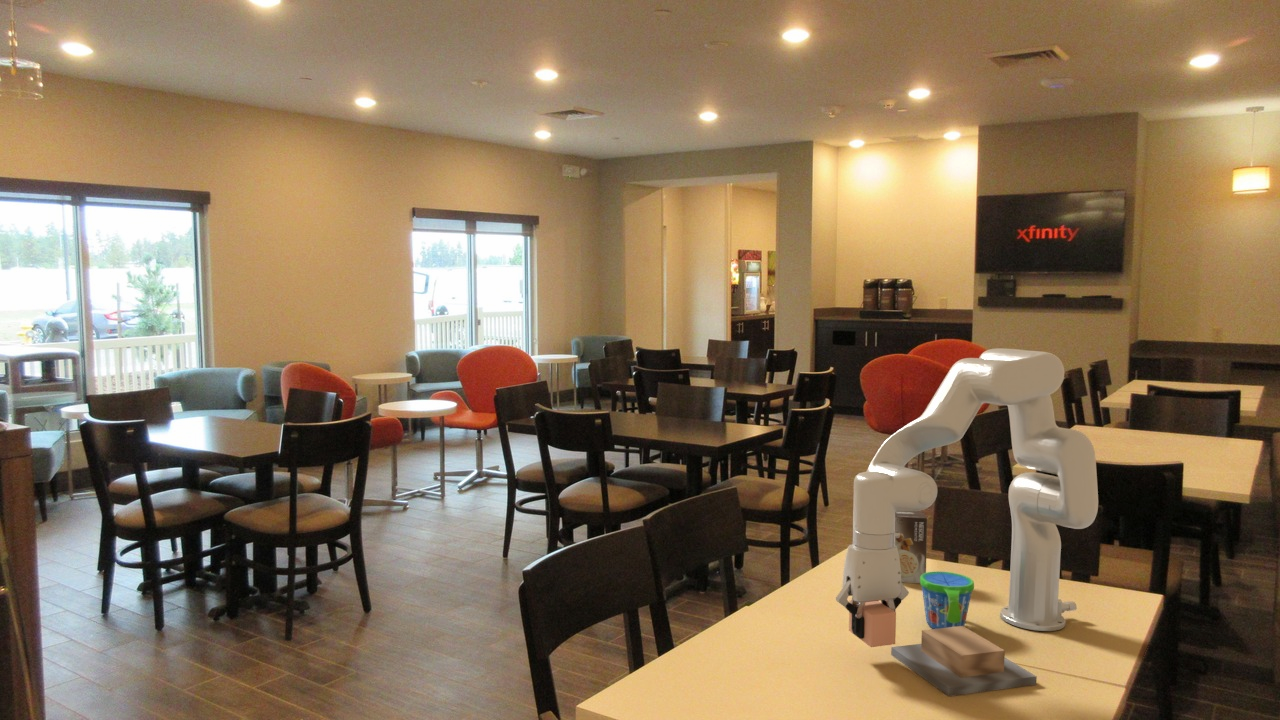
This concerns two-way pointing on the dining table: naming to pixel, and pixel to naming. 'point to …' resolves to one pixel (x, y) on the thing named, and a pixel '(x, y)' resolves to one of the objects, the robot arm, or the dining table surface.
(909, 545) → the coffee box
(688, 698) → the dining table surface
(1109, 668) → the dining table surface
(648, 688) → the dining table surface
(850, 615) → the brick
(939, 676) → the base
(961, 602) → the snack cup
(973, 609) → the dining table surface
